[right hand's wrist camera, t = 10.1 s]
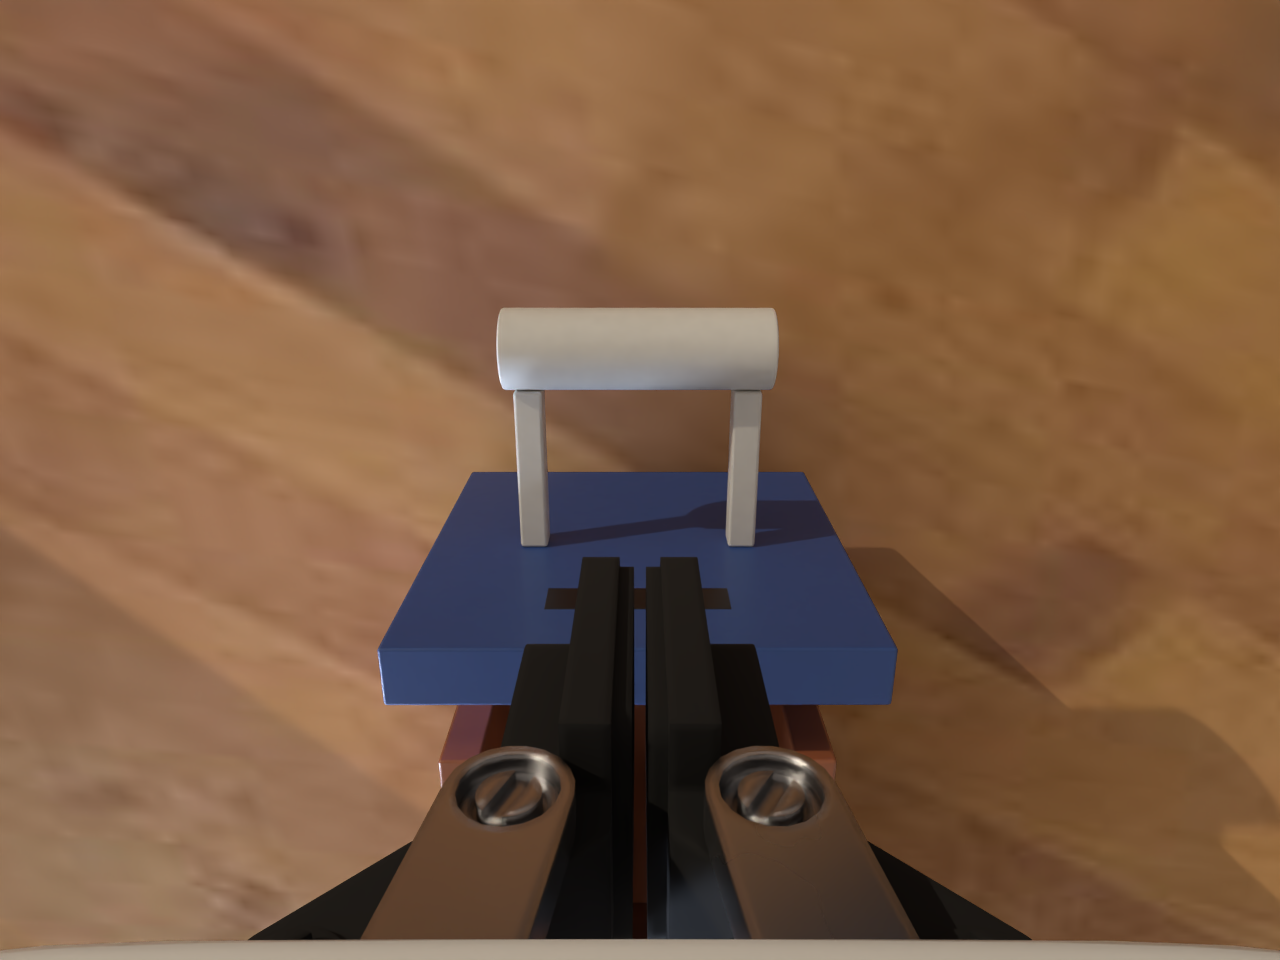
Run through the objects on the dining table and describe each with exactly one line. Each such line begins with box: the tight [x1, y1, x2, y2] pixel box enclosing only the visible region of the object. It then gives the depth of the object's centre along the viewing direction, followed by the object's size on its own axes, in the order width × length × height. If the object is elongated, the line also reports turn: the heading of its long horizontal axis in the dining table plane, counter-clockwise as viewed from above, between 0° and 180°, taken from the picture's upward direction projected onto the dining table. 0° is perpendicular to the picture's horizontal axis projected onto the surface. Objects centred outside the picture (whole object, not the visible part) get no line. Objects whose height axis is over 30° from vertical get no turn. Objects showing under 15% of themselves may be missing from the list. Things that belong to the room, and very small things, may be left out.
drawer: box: [378, 308, 898, 939], centre depth 21 cm, size 20×9×9 cm, turn 0°
